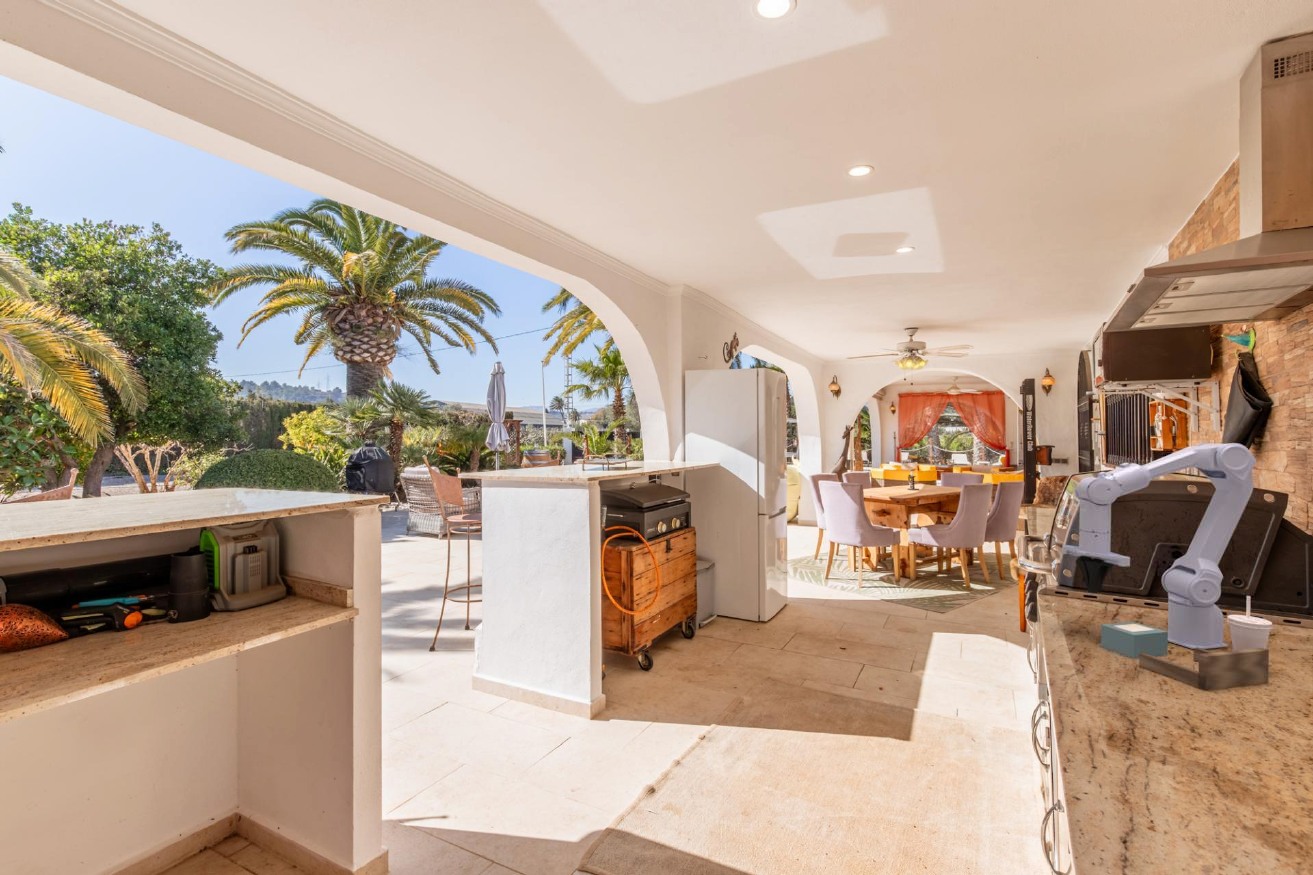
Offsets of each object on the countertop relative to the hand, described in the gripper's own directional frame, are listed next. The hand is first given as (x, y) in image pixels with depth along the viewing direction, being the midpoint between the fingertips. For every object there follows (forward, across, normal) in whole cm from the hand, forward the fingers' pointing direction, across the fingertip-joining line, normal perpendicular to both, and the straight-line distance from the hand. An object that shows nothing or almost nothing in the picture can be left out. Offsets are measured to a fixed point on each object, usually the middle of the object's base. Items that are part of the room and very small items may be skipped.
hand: (1093, 592), depth 138 cm
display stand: (+10, +21, 0) cm, 23 cm away
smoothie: (+10, +22, +12) cm, 27 cm away
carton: (+10, +9, 0) cm, 14 cm away
